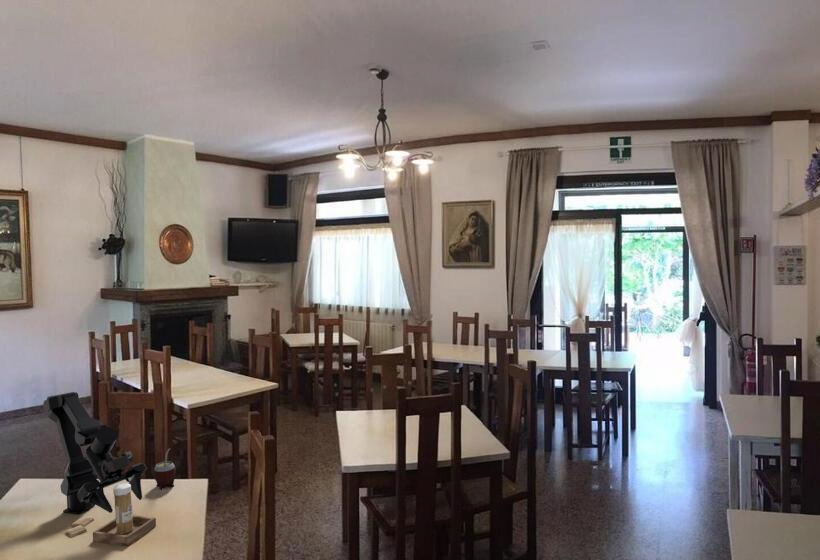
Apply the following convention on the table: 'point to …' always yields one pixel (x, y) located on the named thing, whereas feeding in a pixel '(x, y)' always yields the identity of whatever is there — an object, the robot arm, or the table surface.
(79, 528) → the oak tile
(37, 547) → the table surface
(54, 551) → the table surface
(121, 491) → the sprinkles bottle
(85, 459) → the robot arm
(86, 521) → the oak tile
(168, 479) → the mate gourd
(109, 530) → the box
